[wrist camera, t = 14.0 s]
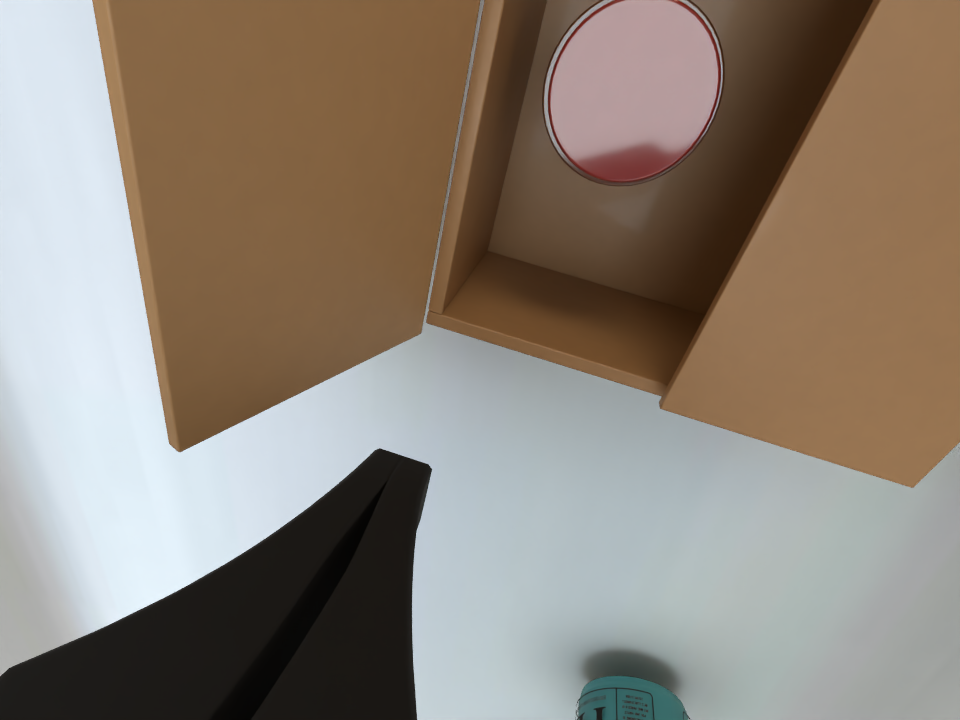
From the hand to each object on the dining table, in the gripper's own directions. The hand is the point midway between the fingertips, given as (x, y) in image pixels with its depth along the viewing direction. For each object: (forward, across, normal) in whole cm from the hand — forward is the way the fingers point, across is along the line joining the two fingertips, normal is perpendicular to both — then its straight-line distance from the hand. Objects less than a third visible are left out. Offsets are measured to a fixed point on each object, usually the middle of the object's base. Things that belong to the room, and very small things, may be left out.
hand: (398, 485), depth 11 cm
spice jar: (+9, -2, -9) cm, 13 cm away
